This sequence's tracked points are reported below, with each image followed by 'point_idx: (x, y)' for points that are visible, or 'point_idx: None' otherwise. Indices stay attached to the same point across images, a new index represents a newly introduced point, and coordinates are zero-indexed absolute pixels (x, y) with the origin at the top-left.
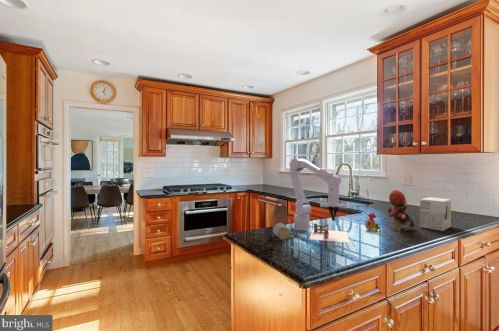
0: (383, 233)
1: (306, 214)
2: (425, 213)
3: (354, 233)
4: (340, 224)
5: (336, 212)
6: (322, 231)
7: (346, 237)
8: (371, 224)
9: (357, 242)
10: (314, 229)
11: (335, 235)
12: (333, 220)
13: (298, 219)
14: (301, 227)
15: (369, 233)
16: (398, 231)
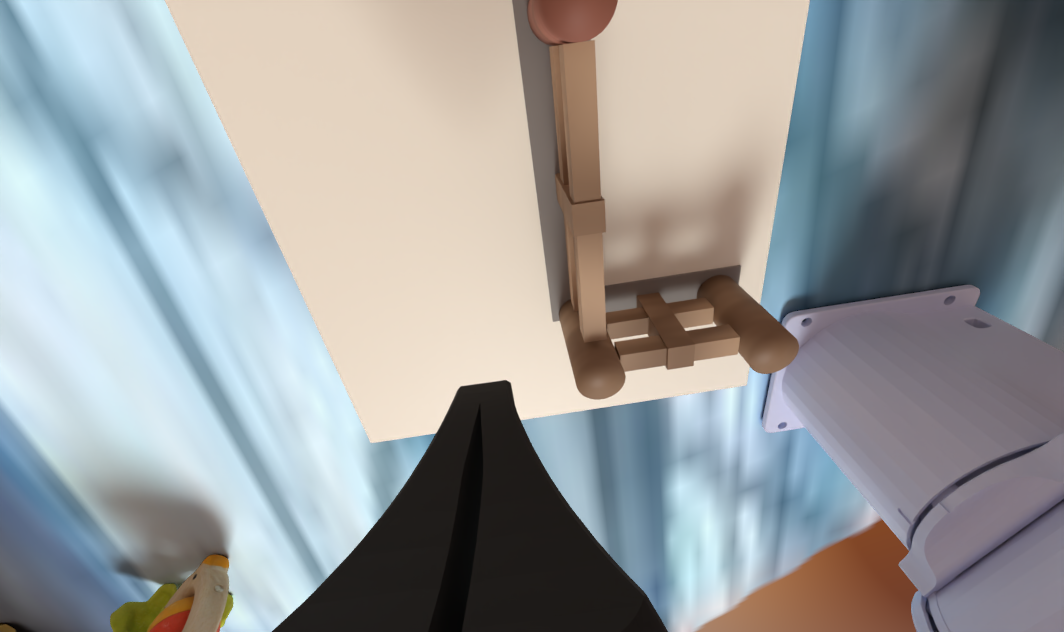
0: (69, 544)
1: (1007, 504)
2: None
3: (300, 443)
4: None
5: (348, 560)
6: None
7: (286, 203)
8: (150, 629)
9: (62, 53)
10: (747, 293)
11: (450, 237)
12: (478, 386)
13: (1055, 396)
14: (907, 325)
15: (174, 498)
16: (4, 625)
